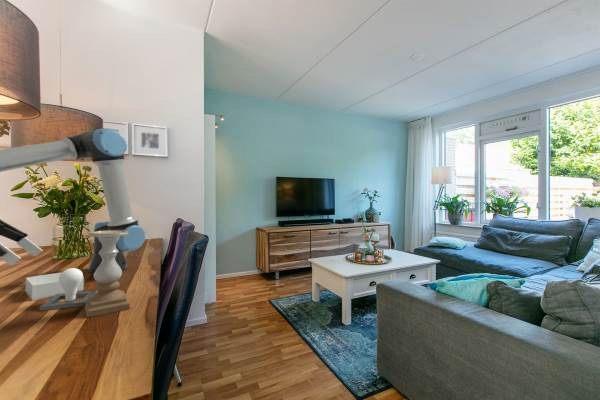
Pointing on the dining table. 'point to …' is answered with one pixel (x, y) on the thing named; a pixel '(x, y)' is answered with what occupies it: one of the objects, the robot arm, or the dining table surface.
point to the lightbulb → (70, 282)
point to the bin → (46, 286)
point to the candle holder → (107, 278)
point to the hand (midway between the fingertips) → (28, 257)
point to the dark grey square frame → (54, 305)
